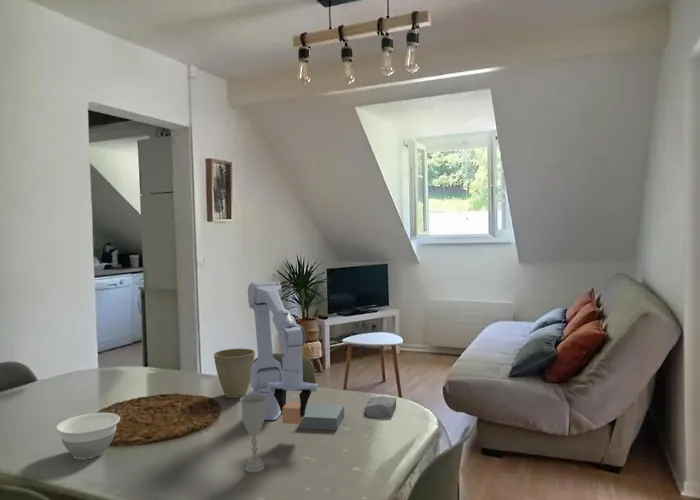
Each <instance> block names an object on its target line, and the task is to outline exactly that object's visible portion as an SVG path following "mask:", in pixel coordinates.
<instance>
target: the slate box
mask: <svg viewBox="0 0 700 500" xmlns="http://www.w3.org/2000/svg"><path fill="white" fill-rule="evenodd" d="M344 417H345V405H343V404H342V405H341V404H322V403H321V404H320V403H319V404H317V403H307V405H306V409H305V415H304V419H303V420H302V421H301V423H300V424H298V429H307V430H327V431H328V430H329V431H330V430H331V431H338V430H339V427H340V425H341V423H342V422H343V420H344Z"/></svg>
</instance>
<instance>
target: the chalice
mask: <svg viewBox="0 0 700 500" xmlns="http://www.w3.org/2000/svg"><path fill="white" fill-rule="evenodd" d="M248 394H249V393H248ZM248 394H246V395H245V396H243V397H239V401H240V403H241V415H242V417H241V419H242V421H243V425H244V427H245V429H246V431H247V433H248V434H249V435H252V439H251V445H252V446H251V449H250V450H251V451H252V456H250V457H249V458H248V460H247V462H246V465H245V467H244V470H245V471H246V472H249V473H257V472H261V471H263V470H264V469H265V468H266V466H265V464H264V462H263V459H262V458H261V457H260V456H258V455H257V451H258V448H259V447H257V443H258V440H257V435H258V434H260V432H261V430H262V427H263V424H264V422H265V420H264V419H265V401H266V398H267V397H266V396H265V395H263V394H249V395H248Z"/></svg>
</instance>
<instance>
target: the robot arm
mask: <svg viewBox="0 0 700 500" xmlns="http://www.w3.org/2000/svg"><path fill="white" fill-rule="evenodd" d="M249 283H250V284H249V285H248V288H247V300H248V301H247V303H248V306H249V308H250V309H252V310H253V312H254V320H255V321H254V322H255V335H256V349H257V359H256V361H254V364H253V365H252V366H251V368H250V383H249V385H250V387H251V388H250V390H249V392H248V394H247V395H249V394H263V395H265V396H266V397H267V398H266V401H265V419H264V421H277V419H279V417H280V415H282V408H283V406H284V405H285V404H286V403H287V391H289V392H290V391H295V392H296V391H297V392H300V393H299V403H301V417H303V416H304V415H305V409H306V406H307V405H308V401H309V399H310V397H311V394H312V392H313V393H317V392H319V384H318V383H314V382H305V381H304V380H303V375H304V374H303V346H304V345H305V344H306V333H305V329H304V327H303V326H302V325H300V324H297V323H296V321H295V319H294V317H293V315H292V313H291V312H290V310H288V309H285V307H284V304H283V301H282V294H283V290H282V289H283V288H282V285H281V283H280V281H278V280H275V281H264V282H263V281H262V282H253V281H252V282H249ZM270 312H271V313H272V314H273V315H272V323H273V324H274V327H275V328H276V330H277V333H278V343H279V348H280V354H281V359H282V360H281V362H282V363H280V361H278V360H276V359H275V358H274V353H273V352H274V351H273V341H272V329H271V327H272V326H271V317H270ZM281 364H282V365H281Z"/></svg>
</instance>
